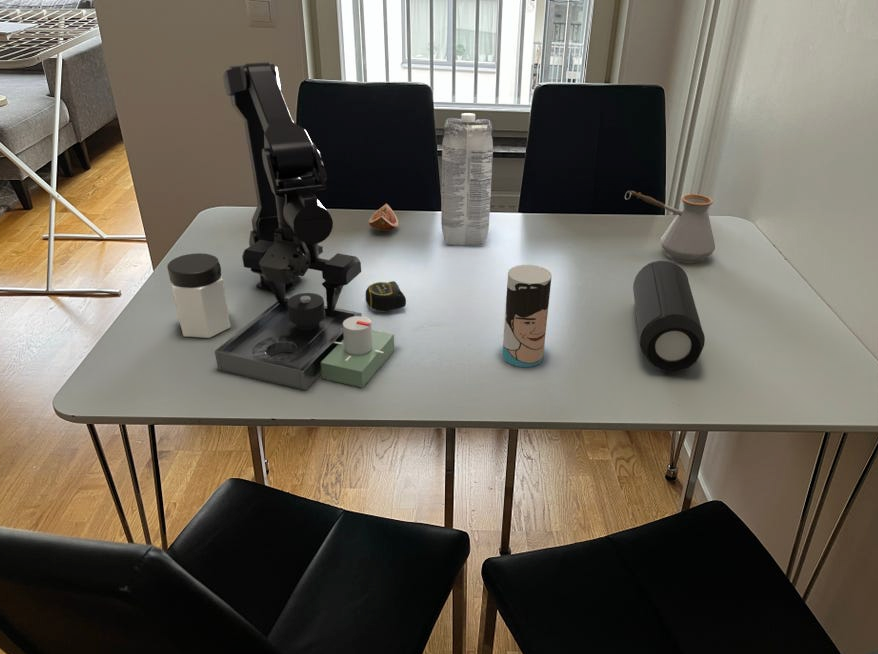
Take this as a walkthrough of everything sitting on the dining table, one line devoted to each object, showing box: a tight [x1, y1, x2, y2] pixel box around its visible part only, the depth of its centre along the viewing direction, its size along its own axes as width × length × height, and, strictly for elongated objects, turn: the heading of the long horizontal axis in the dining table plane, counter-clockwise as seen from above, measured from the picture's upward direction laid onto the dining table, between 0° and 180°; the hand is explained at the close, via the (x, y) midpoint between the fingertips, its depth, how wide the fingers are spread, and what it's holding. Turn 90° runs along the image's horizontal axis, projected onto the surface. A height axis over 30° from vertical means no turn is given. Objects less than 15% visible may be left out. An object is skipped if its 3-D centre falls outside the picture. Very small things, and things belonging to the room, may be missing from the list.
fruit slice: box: [368, 203, 400, 232], centre depth 160 cm, size 8×7×5 cm
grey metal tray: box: [214, 297, 363, 391], centre depth 116 cm, size 16×20×4 cm
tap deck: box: [321, 329, 395, 389], centre depth 113 cm, size 9×12×3 cm
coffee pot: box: [624, 190, 716, 264], centre depth 149 cm, size 21×12×15 cm, turn 97°
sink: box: [231, 308, 344, 368], centre depth 116 cm, size 14×18×2 cm
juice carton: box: [440, 112, 494, 247], centre depth 151 cm, size 9×10×27 cm
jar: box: [166, 252, 231, 339], centre depth 119 cm, size 9×8×12 cm
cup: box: [502, 264, 553, 368], centre depth 113 cm, size 7×7×15 cm
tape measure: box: [365, 280, 407, 312], centre depth 129 cm, size 7×7×4 cm
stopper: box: [287, 292, 325, 330], centre depth 118 cm, size 6×6×5 cm
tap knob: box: [343, 315, 373, 355], centre depth 110 cm, size 4×4×5 cm
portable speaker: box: [632, 259, 706, 373], centre depth 121 cm, size 26×10×10 cm, turn 172°
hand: (306, 308), depth 118 cm, fingers open, 9 cm apart
